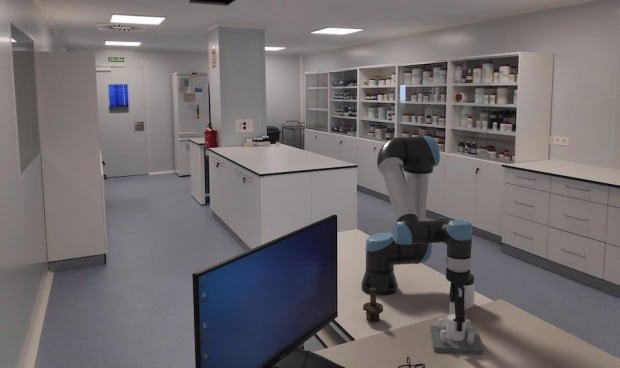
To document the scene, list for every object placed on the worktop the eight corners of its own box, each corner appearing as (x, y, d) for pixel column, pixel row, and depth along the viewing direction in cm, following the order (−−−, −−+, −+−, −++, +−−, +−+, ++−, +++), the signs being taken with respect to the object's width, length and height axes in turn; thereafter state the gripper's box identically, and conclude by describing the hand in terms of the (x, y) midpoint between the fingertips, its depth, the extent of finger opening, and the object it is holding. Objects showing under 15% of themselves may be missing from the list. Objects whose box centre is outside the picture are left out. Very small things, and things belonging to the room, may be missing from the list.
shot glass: (465, 343, 162) (466, 323, 161) (443, 340, 165) (444, 320, 163) (466, 334, 169) (467, 314, 167) (445, 330, 171) (446, 311, 170)
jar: (462, 311, 189) (463, 281, 187) (445, 303, 196) (446, 274, 194) (478, 305, 194) (479, 276, 192) (461, 298, 201) (462, 269, 199)
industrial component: (369, 326, 179) (369, 294, 176) (358, 318, 185) (358, 287, 183) (391, 320, 183) (391, 289, 180) (380, 312, 189) (380, 282, 187)
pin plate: (430, 329, 175) (430, 314, 174) (475, 332, 173) (475, 317, 172) (433, 351, 161) (434, 335, 160) (482, 354, 158) (483, 338, 157)
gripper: (442, 255, 175) (440, 312, 179) (450, 282, 151) (448, 347, 155) (464, 256, 174) (462, 313, 178) (476, 283, 150) (473, 349, 153)
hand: (455, 329), depth 166 cm, fingers open, 13 cm apart
